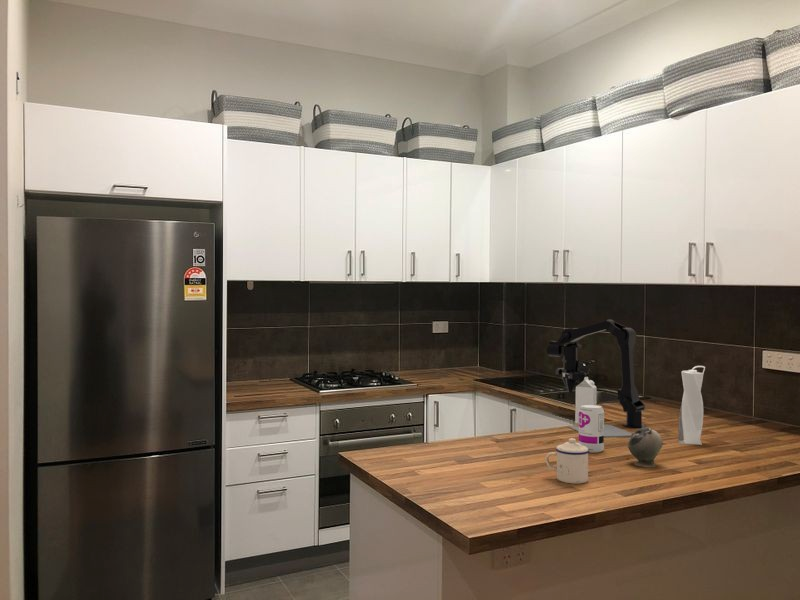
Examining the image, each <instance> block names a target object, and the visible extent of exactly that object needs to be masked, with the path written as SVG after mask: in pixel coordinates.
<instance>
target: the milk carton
mask: <svg viewBox="0 0 800 600" xmlns="http://www.w3.org/2000/svg"><path fill="white" fill-rule="evenodd" d="M595 384H596V383H595V382H594V380H592V379H589V376H586V377H585V378H584V379H583V381H581V382H580V383H579V384H577V385H576V386H575V411H574V412H575V415H574V417H575V418H574V421H575V424H579V409H580V407H581V405H597V386H596V385H595Z"/></svg>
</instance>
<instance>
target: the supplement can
mask: <svg viewBox="0 0 800 600" xmlns="http://www.w3.org/2000/svg"><path fill="white" fill-rule="evenodd" d="M578 425H579V432H578V443H579V444H581V445H582V446H585V447H587V448H588V450H589V452H588V453H593V454H595V453H596V454H597V453H602V452H603V451H604V450H605V437H604V425H605V411H604V408H603V406H601V405H597V404H596V405H581V407H580V409H579V423H578Z"/></svg>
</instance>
